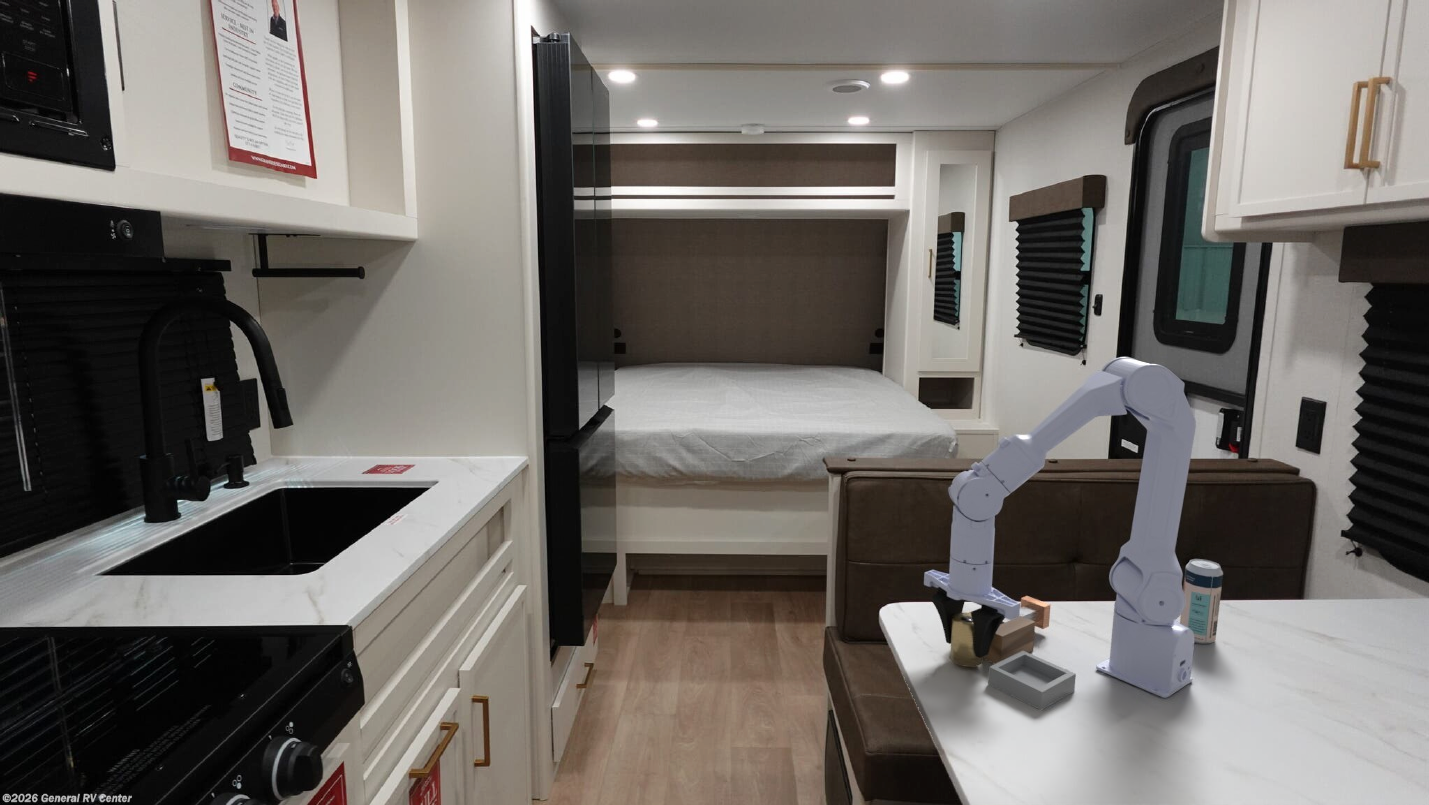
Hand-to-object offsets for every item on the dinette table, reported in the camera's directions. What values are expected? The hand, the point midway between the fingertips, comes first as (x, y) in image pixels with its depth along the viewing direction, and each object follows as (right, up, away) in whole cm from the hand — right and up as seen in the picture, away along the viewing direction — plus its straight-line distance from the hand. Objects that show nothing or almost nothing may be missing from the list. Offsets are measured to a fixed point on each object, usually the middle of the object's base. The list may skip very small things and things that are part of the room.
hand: (966, 648), depth 108 cm
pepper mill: (0, -2, 0) cm, 2 cm away
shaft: (+11, 0, +8) cm, 14 cm away
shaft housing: (+6, -2, +5) cm, 8 cm away
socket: (+7, -4, -6) cm, 10 cm away
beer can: (+38, -1, +8) cm, 39 cm away
